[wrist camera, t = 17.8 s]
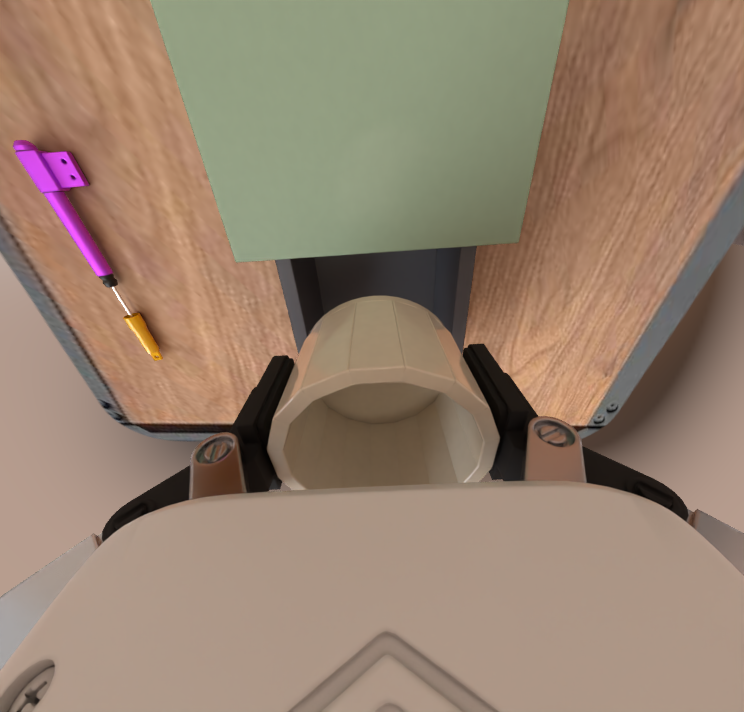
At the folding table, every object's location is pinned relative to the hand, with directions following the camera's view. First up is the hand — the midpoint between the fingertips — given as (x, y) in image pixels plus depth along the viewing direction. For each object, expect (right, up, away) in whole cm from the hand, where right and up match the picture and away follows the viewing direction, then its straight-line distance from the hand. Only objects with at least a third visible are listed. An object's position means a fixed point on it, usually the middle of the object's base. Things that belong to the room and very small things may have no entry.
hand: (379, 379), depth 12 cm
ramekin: (0, 0, +1) cm, 1 cm away
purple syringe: (-20, +8, +10) cm, 24 cm away
